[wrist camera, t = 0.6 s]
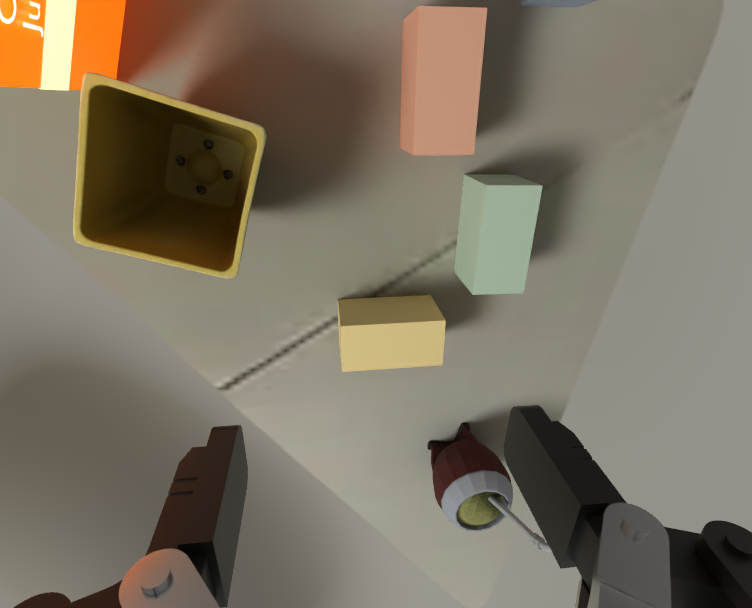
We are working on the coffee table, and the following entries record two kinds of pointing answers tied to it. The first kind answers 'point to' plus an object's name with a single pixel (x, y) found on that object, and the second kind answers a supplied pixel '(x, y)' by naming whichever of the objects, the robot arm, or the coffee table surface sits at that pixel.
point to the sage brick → (496, 232)
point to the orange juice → (58, 41)
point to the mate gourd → (474, 485)
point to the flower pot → (163, 177)
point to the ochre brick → (390, 332)
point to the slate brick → (555, 3)
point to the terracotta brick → (441, 79)
